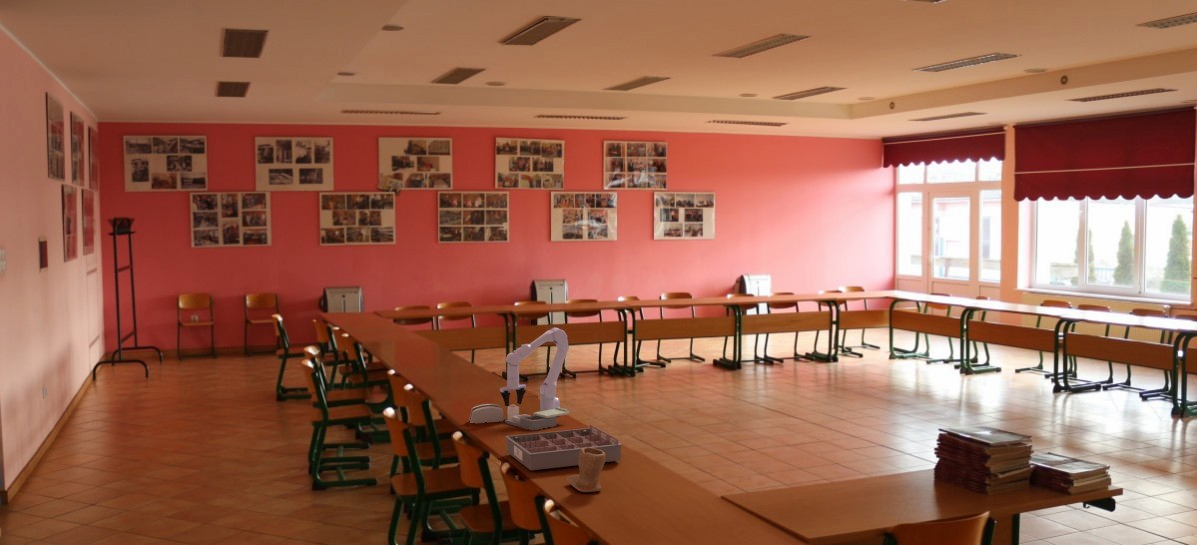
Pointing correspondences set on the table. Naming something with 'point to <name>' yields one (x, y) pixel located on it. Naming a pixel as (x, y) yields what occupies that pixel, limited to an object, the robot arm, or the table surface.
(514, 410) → the cube with dome top
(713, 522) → the table surface
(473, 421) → the white speaker
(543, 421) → the housing
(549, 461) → the organizer tray
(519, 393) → the robot arm
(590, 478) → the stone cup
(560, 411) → the lid
